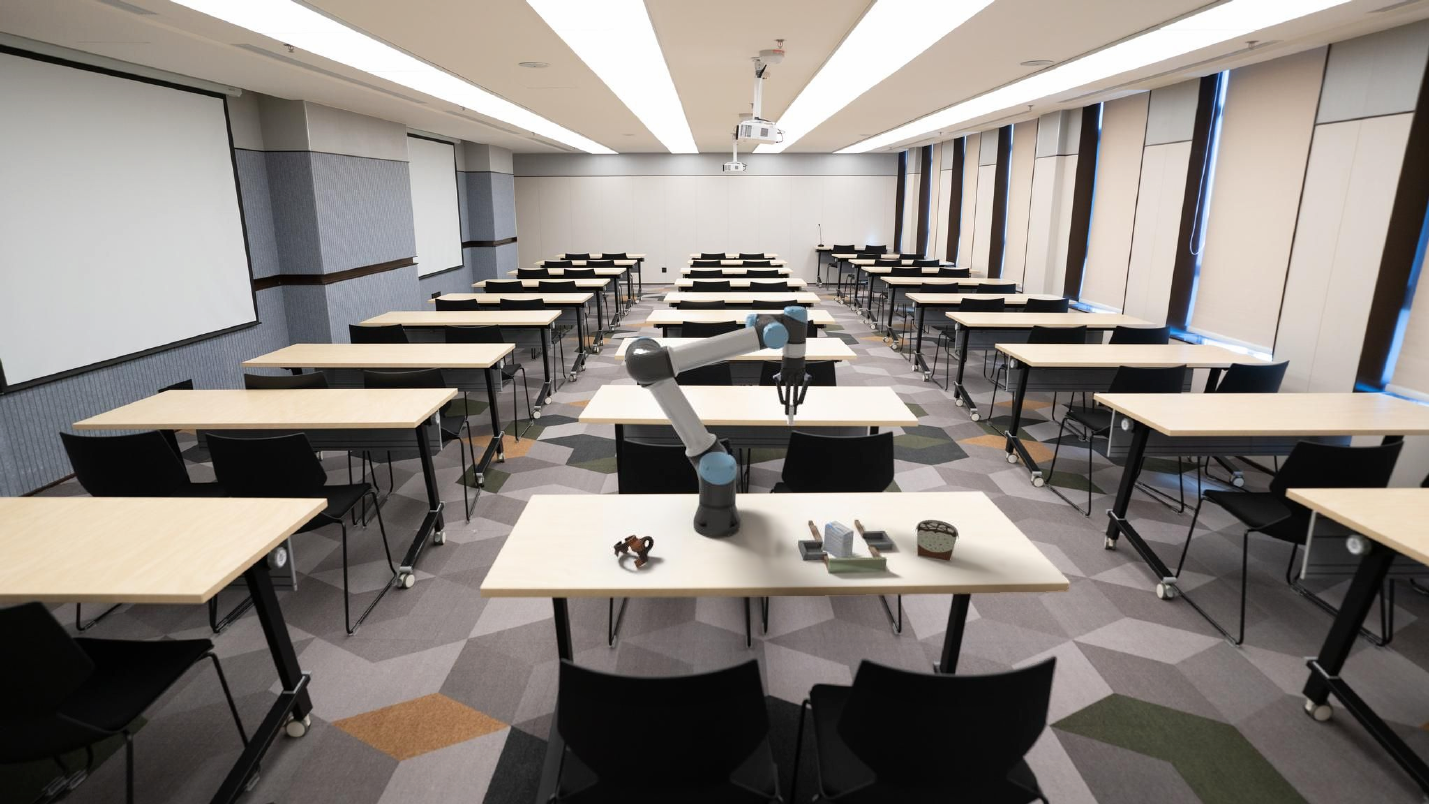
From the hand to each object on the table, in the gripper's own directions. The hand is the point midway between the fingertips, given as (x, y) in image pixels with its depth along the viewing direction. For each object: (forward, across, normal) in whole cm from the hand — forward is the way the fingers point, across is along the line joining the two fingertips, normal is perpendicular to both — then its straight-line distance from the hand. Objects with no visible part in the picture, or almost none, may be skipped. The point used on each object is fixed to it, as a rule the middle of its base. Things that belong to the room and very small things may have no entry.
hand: (790, 424), depth 226 cm
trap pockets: (+29, -13, +30) cm, 44 cm away
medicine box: (+30, -10, +33) cm, 46 cm away
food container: (+30, -39, +35) cm, 60 cm away
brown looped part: (+30, +50, +34) cm, 68 cm away
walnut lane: (+29, -13, +29) cm, 43 cm away
